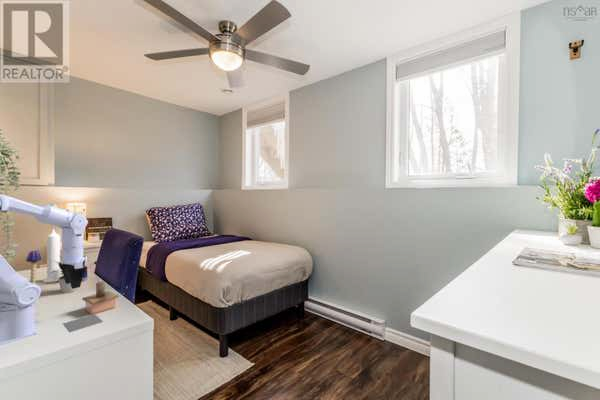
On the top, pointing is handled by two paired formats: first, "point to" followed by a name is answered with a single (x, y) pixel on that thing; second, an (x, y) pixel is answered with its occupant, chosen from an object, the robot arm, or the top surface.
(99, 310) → the open box
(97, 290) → the lid
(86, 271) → the energy drink
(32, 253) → the toy lamp
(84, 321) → the mat
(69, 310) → the top surface
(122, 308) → the top surface
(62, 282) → the house plant
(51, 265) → the candle
